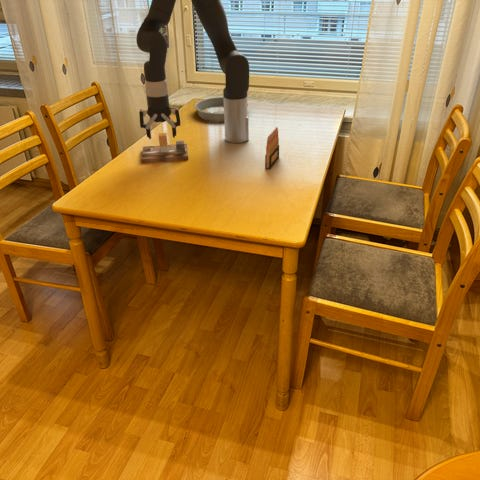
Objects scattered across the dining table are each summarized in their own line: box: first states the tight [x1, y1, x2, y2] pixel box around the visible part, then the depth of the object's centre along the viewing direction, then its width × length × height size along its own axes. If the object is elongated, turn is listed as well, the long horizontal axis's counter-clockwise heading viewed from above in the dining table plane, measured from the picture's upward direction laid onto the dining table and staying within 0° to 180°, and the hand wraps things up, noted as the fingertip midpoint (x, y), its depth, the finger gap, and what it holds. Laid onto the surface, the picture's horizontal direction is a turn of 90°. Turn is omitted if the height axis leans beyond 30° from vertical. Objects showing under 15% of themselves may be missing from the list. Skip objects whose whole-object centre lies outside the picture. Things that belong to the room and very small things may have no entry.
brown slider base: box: [141, 140, 189, 164], centre depth 171 cm, size 17×12×6 cm
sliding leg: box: [158, 132, 169, 153], centre depth 170 cm, size 3×7×7 cm, turn 7°
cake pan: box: [194, 96, 249, 123], centre depth 210 cm, size 25×25×4 cm
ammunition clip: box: [264, 127, 280, 170], centre depth 162 cm, size 11×2×12 cm, turn 158°
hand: (162, 137), depth 167 cm, fingers open, 8 cm apart
